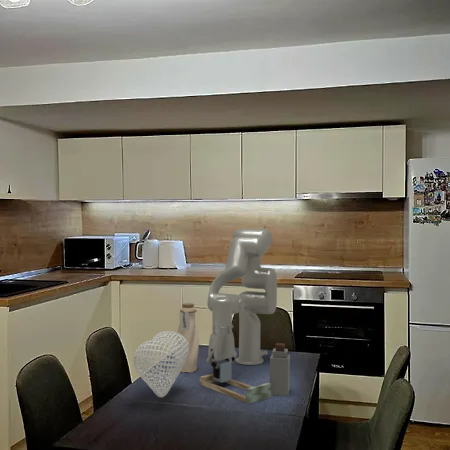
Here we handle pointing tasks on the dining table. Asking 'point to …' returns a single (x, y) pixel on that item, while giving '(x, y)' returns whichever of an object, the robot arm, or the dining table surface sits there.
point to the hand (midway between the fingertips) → (222, 375)
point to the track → (251, 392)
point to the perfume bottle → (280, 370)
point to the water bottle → (189, 336)
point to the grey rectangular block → (224, 371)
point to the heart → (177, 369)
